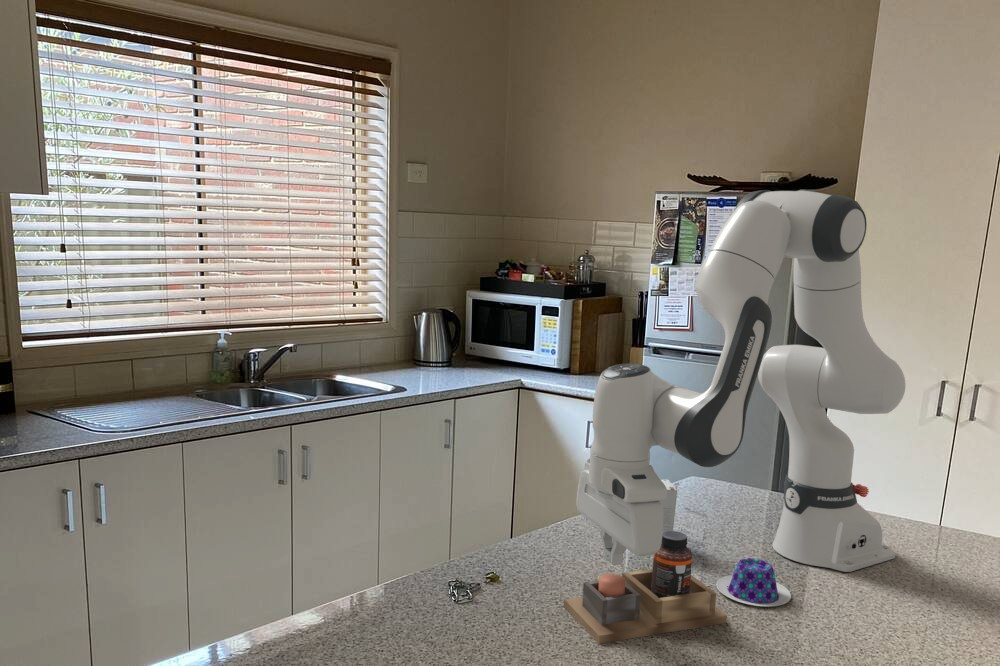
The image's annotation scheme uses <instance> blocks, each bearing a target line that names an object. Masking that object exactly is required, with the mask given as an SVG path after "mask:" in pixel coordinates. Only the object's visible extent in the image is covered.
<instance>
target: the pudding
mask: <svg viewBox="0 0 1000 666" xmlns="http://www.w3.org/2000/svg"><path fill="white" fill-rule="evenodd" d="M727 586H728V587H727ZM716 588H717V590H718V591H719V592H720V593H721V594H722V595H724V596H725V597H727V598H728V599H731V600H733V601H735V602H739V603H741V604H742V603H743V604H746V605H749V606H754V607H755V606H756V607H779V606H782V605H785V604H787V603H788V602H790V600H791V599H792V594H791V592H790V590H789V589H788V588H787V587H785V586H784V585H782V584H781V583H779V582H777V580H776V573H775V570H774V567H773V565H772V564H771V563H769V562H766V561H765V560H764V559H758V558H756V559H755V558H753V557H752V558H751V557H748V558H742V559H739V560H738V562H737V564H736V565H735V568H734V571H733V573H732V574H729V575H725V576H722V577H720V578H718V580H717V581H716ZM731 593H732V594H731ZM773 601H774V602H773Z"/></svg>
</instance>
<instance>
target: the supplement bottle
mask: <svg viewBox="0 0 1000 666" xmlns="http://www.w3.org/2000/svg"><path fill="white" fill-rule="evenodd" d="M687 544H688V536H687V535H686V534H685V533H684V532H681V531H676V530H673V531H665V532H663V534H662V542H661V547H660V549H659V551H658V552H657V553H656V554H654V555H653V559H652V584H651V592H652V593H653V594H655V595H656V596H657V597H658V598H663V597H670V596H677V595H684V594H690V580H691V575H692V567H693V552H692V550H691V549H690V548H689V547H688V546H687Z"/></svg>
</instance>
